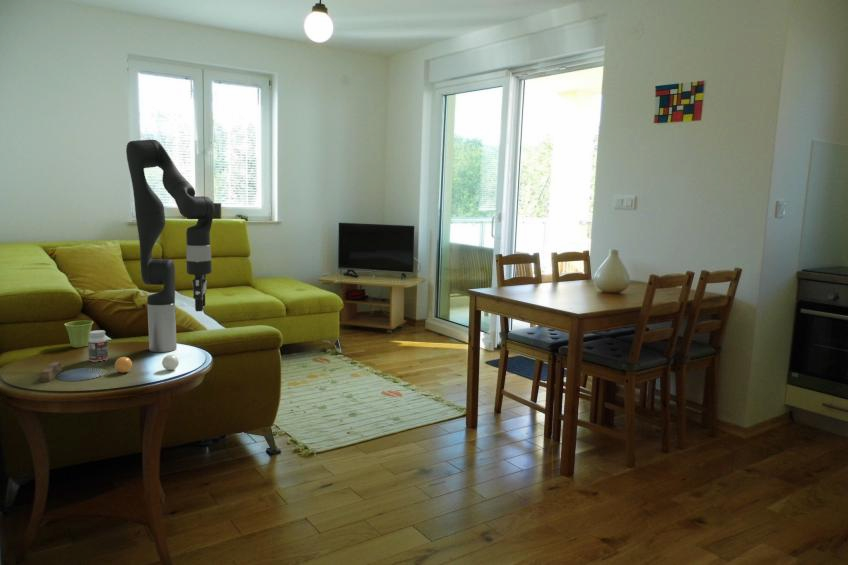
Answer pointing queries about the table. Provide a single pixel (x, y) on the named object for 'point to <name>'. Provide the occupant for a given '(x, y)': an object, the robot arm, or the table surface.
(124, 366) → the object ball
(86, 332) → the plant pot
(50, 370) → the stopper wall
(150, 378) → the table surface
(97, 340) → the pill bottle
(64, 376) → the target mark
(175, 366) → the cue ball
